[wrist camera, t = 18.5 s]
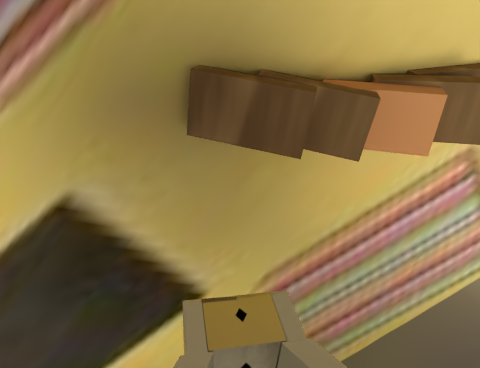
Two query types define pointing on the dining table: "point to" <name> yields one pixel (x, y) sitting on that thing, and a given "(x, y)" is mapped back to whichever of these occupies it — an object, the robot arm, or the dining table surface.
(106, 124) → the dining table surface
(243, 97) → the domino
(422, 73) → the domino
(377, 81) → the domino
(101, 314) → the dining table surface
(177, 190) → the dining table surface
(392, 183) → the dining table surface
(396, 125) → the domino
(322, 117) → the domino
